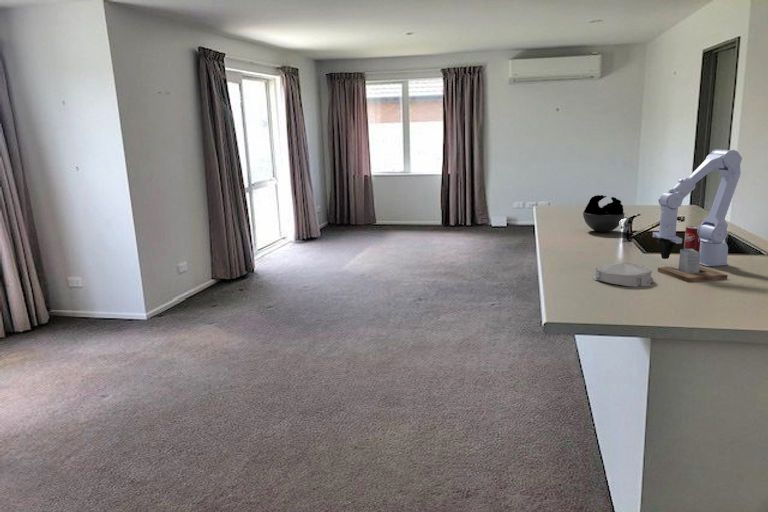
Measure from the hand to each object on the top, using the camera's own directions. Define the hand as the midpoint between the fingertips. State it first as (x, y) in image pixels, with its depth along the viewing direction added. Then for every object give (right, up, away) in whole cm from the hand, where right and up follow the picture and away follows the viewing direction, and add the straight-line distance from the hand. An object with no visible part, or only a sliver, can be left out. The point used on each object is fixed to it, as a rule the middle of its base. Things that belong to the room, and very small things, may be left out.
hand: (665, 258), depth 225 cm
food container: (-24, -8, -18) cm, 31 cm away
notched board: (+3, -6, -14) cm, 15 cm away
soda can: (+20, +1, +17) cm, 27 cm away
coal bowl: (+4, +13, +74) cm, 75 cm away
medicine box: (+3, -6, -12) cm, 13 cm away
